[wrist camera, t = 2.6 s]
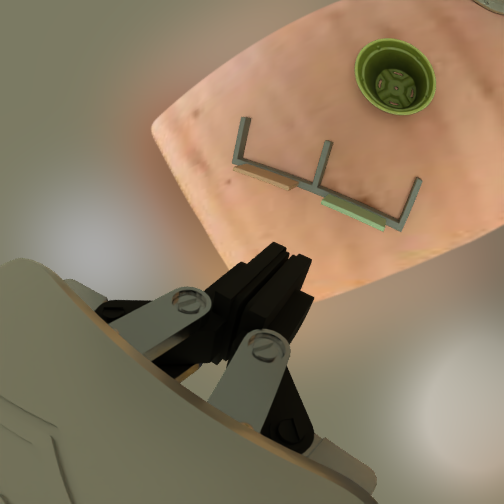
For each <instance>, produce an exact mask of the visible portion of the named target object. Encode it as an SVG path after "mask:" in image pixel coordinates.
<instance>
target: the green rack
mask: <svg viewBox="0 0 504 504" xmlns="http://www.w3.org/2000/svg"><path fill="white" fill-rule="evenodd" d="M250 122H251V118H248V117H241V121H240V126H239V130H238V135H237V140H236V145H235V150H234V155H233V160H232V164H235V165H238V166H235V167H234V168H233V171H236V172H239V173H242V174H244V175H247V176H250V177H253V178H256V179H258V180H261V181H264V182H266V183H269V184H272V185H274V186H277V187H280V188H282V189H285V190H287V191H289V190H291V189H293V188H295V187H299V188H302V189H304V190H307V191H309V192H312V193H314V194H317V195H319V196H322V197H324V199H323V200H322V202H321V204H322V205H325V206H327V207H329V208H332V209H334V210H336V211H339V212H341V213H343V214H345V215H348V216H350V217H352V218H354V219H357V220H359V221H361V222H363V223H365V224H368V225H370V226H372V227H374V228H376V229H378V230H380V231H384V229H385V225H387V226H389V227H391V228H394V229H396V230H398V231H400V232H401V231H402V229H403V227H404V225H405V223H406V220H407V218H408V216H409V213H410V211H411V209H412V206H413V204H414V202H415V199H416V197H417V194H418V192H419V189H420V186H421V184H422V180H421V179H420V178H418V177H416V179H415V182H414V184H413V187H412V190H411V192H410V195H409V197H408V200H407V202H406V205H405V207H404V210H403V212H402V214H401V217H400V219H399V220H398V219H396V218H394V217H391V216H389V215H387V214H385V213H383V212H381V211H379V210H376V209H374V208H372V207H370V206H368V205H365V204H363V203H361V202H359V201H356V200H354V199H352V198H349V197H347V196H345V195H342V194H340V193H338V192H335V191H333V190H330V189H328V188H325V187H323V186H320V184H321V181H322V178H323V175H324V171H325V168H326V165H327V161H328V158H329V155H330V151H331V148H332V144H333V142H331V141H328V140H326V141H325V143H324V146H323V150H322V153H321V157H320V160H319V164H318V167H317V170H316V174H315V177H314V180H313V182H310V181H307V180H305V179H302V178H299V177H297V176H294V175H291V174H289V173H286V172H283V171H280V170H277V169H275V168H272V167H269V166H266V165H263V164H260V163H257V162H254V161H251V160H248V159H245V158H243V154H244V150H245V145H246V140H247V135H248V131H249V126H250Z"/></svg>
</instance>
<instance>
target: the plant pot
mask: <svg viewBox="0 0 504 504" xmlns="http://www.w3.org/2000/svg"><path fill="white" fill-rule="evenodd" d="M394 72H397V73H401V74H403V76H401V75H398V74H394ZM355 77H356V81H357V84H358V86H359V88H360V90H361V92H362V93H363V95H364V96H365V97H366V98H367V100H368V101H369V102H371V103H372V104H373V105H374V106H376V107H377V108H379V109H381V110H383V111H385V112H387V113H391V114H395V115H410V114H414V113H417V112H419V111H421V110H423V109H424V108H426V107H427V106H428V105H429V103H430V102H431V101H432V99H433V97H434V94H435V90H436V77H435V73H434V70H433V68H432V66H431V64H430V62H429V61H428V59H427V58H426V57H425V55H424V54H423V53H422V52H421V51H419V50H418V49H417V48H416V47H414V46H413V45H411V44H409V43H407V42H404V41H401V40H398V39H391V38H384V39H378V40H375V41H373V42H370V43H369V44H367V45H366V46H365V47H363V48H362V50H361V51H360V52H359V54H358V56H357V59H356V62H355ZM380 80H382V83H381V88H379V86H378V84H379V81H380ZM395 86H396V87H398V89H397V90H396V89H395V88H394V87H395ZM412 89H413V92H414V94H413V97H412V98H411V97H410V96H411V91H412ZM389 101H391V102H394V103H398V104H399V105H393V104H390V102H389Z"/></svg>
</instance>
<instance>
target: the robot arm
mask: <svg viewBox="0 0 504 504" xmlns="http://www.w3.org/2000/svg"><path fill="white" fill-rule="evenodd" d="M473 1H475V2H476V3H478V4H479V5H481V6H483V7H484V8H486V9H488V10H490V11H492V12H495V13H498V14H502V15H504V0H473ZM289 254H290V253H289V252H286V247H284V246H282V245H280V244H278V243H275V242H272V243H271V244H270V245H269V246H268V247H266V248H265V249H264V250H263V251H262V252H261V253H259V254H258V255H257V256H256V257H255V258H253V259H252V260H251V261H250V262H249V263H248V264H246V263H244V262H240V263H238V264H237V265H236V266H234V267H233V268H232V269H231V270H229V271H228V272H227V273H226V274H224V275H223V276H222V277H221V278H219V279H218V280H217V281H216V282H215V283H213V284H212V285H211V286H210V287H209V288H207V289H206V290H205V291H202V290H200V289H197V288H194V287H181V288H178V289H175V290H173V291H171V292H169V293H167V294H165V295H163V296H161V297H159V298H157V299H155V300H154V301H141V300H139V301H138V300H110V301H108V299H107V297H105V296H103V295H101V294H99V293H97V292H95V291H94V290H91V289H90V288H88V287H86V286H84V285H83V284H81V283H79V282H77V281H75V280H73V279H66V280H62V279H61V278H60V277H59V276H58V275H57V274H56V273H55V272H53V271H52V270H51V269H49V268H47V267H46V266H44V265H43V264H41V263H38V262H36V261H33V260H30V259H25V258H18V259H15V260H12V261H9V262H7V263H5V264H3V265H1V266H0V504H378V503H377V501H376V500H375V499H374V498H373V497H372V496H371V495H372V493H373V492H374V490H375V487H376V485H377V477H376V475H375V473H374V471H373V470H372V469H371V468H370V467H368V466H367V465H365V464H364V463H362V462H361V461H359V460H358V459H356V458H354V457H353V456H351V455H350V454H348V453H347V452H346V451H344V450H343V449H341V448H340V447H338V446H337V445H335V444H334V443H333V442H331V441H329V440H328V439H327V438H324V439H322V438H321V437H319V436H318V435H316V434H315V433H314V430H313V426H312V424H311V421H310V419H309V417H308V414H307V412H306V410H305V407H304V405H303V403H302V400H301V398H300V396H299V393H298V391H297V389H296V387H295V384H294V382H293V379H292V377H291V375H290V373H289V370H288V368H287V363H288V360H289V357H290V352H291V350H290V346H289V345H290V343H291V341H292V340H293V338H294V337H295V335H296V333H297V332H298V330H299V328H300V327H301V325H302V323H303V321H304V319H305V317H306V315H307V313H308V311H309V309H310V307H311V305H312V302H313V300H314V297H313V296H311V295H309V294H306V293H304V292H302V291H300V290H301V288H302V285H303V283H304V280H305V278H306V275H307V272H308V270H309V267H310V265H311V262H312V259H310V258H308V257H306V256H304V255H301V254H298V255H297V256H295V255H292V256H291V257H290V258H289ZM288 258H289V259H288ZM222 359H223V360H225V361H227V360H228V363H227V367H226V370H225V372H224V374H223V376H222V377H221V379H220V381H219V382H218V384H217V386H216V387H215V389H214V391H213V393H212V394H211V396H210V397H209V399H208V401H207V402H206V401H204V400H203V399H201V398H200V397H198V396H197V395H195V394H194V393H192V392H191V391H190V390H188V389H187V388H185V387H184V386H182V385H181V384H180V383H181V382H182V381H184V380H185V379H186V378H188V377H189V376H190V375H191V374H193V373H194V372H196V371H197V370H198V369H199V368H200V367H201V366H202V364H203V363H210V362H213V363H214V364H216V365H218V364H219V362H220V361H221V360H222Z"/></svg>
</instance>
